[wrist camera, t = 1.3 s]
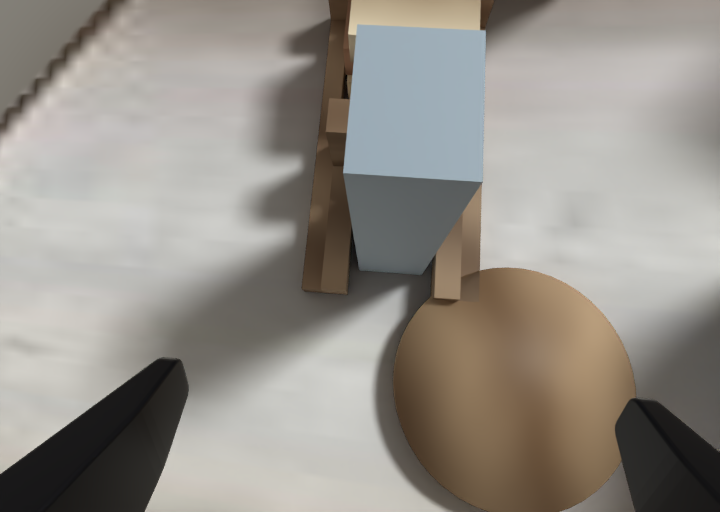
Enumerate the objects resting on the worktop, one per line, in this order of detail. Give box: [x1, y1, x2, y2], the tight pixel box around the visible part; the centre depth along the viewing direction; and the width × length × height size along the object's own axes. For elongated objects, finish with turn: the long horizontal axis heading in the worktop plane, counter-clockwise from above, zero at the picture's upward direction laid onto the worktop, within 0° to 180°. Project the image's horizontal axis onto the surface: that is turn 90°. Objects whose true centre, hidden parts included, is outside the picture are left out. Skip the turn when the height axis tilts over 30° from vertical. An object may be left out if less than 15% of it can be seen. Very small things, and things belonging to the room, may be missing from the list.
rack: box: [302, 0, 494, 302], centre depth 21 cm, size 16×9×5 cm, turn 175°
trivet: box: [393, 268, 636, 512], centre depth 20 cm, size 11×11×1 cm
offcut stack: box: [343, 0, 481, 99], centre depth 22 cm, size 4×6×6 cm
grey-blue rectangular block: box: [343, 24, 486, 275], centre depth 16 cm, size 4×3×12 cm
